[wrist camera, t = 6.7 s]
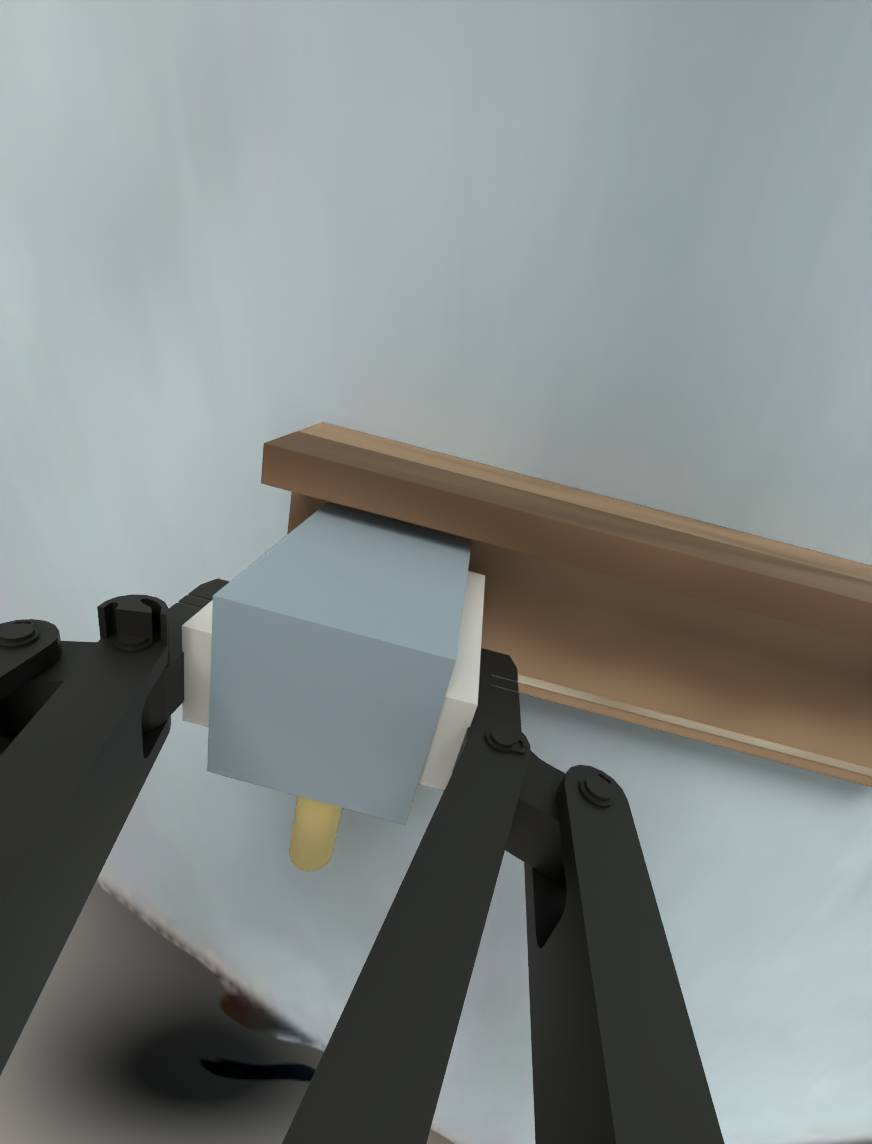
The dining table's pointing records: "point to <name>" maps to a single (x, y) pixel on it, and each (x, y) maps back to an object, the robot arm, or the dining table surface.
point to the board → (628, 600)
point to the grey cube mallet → (336, 667)
